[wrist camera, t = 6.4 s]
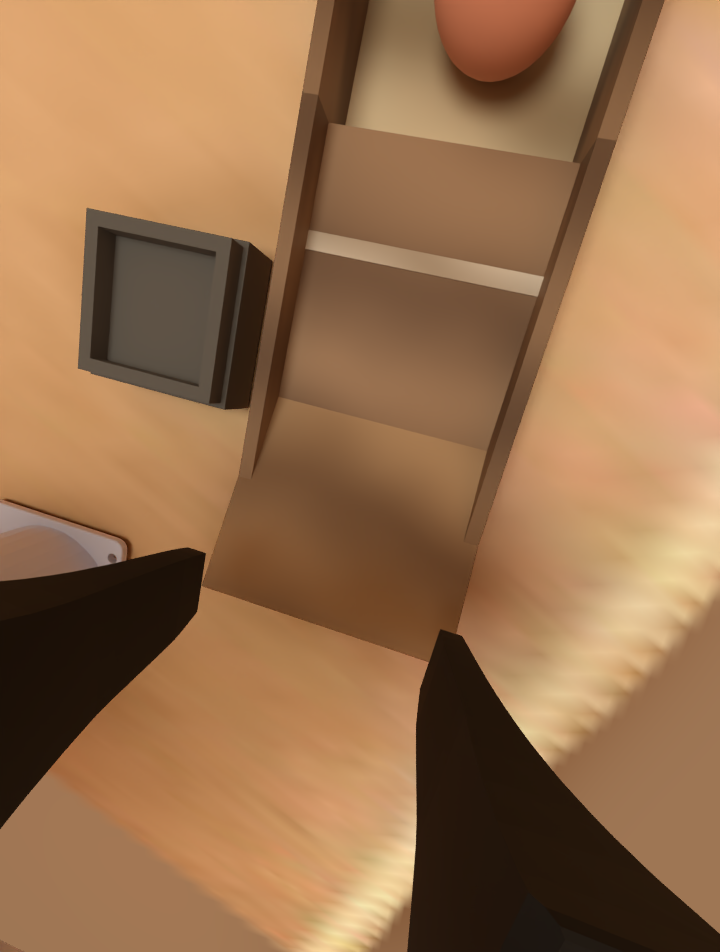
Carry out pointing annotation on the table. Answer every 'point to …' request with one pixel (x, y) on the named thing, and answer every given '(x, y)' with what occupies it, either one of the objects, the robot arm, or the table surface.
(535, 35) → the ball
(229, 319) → the grey square tray
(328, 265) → the lane
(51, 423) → the table surface
